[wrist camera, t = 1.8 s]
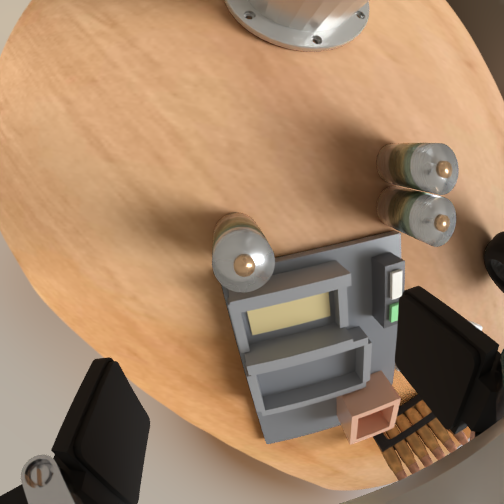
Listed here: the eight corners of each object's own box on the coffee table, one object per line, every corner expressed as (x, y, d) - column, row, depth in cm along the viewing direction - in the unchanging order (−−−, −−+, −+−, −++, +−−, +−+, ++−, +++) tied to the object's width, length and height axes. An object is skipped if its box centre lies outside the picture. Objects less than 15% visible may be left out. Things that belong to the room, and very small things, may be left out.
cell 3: (374, 188, 23) (425, 201, 17) (407, 183, 24) (460, 195, 17) (377, 229, 25) (425, 254, 18) (409, 222, 25) (460, 243, 18)
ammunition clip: (430, 385, 33) (475, 440, 21) (431, 391, 33) (474, 444, 22) (366, 426, 33) (400, 491, 22) (369, 431, 34) (402, 493, 22)
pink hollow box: (336, 385, 28) (352, 416, 24) (381, 370, 29) (400, 397, 24) (336, 415, 30) (349, 444, 25) (377, 400, 30) (394, 427, 26)
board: (218, 270, 24) (219, 291, 20) (394, 230, 25) (420, 242, 21) (265, 438, 31) (270, 463, 27) (385, 402, 32) (398, 422, 28)
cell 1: (208, 218, 23) (205, 243, 16) (255, 208, 23) (270, 228, 16) (218, 261, 24) (220, 302, 17) (263, 252, 24) (281, 288, 17)
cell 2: (373, 145, 22) (425, 143, 16) (406, 142, 22) (460, 142, 16) (379, 187, 23) (430, 199, 17) (411, 181, 24) (464, 192, 17)
